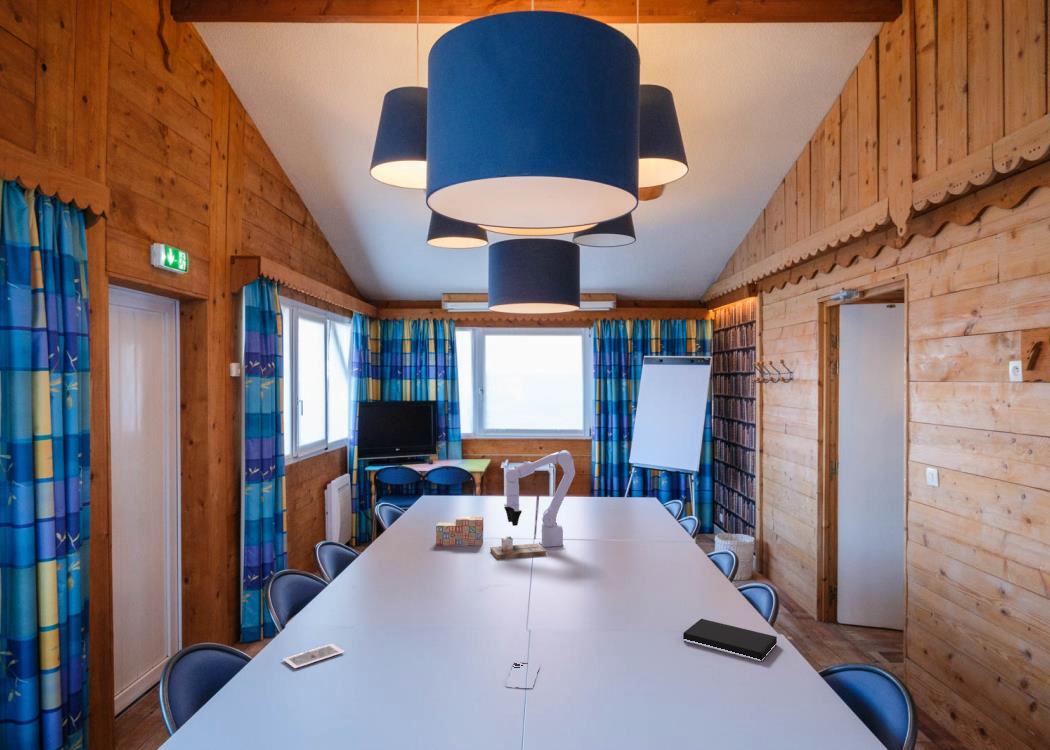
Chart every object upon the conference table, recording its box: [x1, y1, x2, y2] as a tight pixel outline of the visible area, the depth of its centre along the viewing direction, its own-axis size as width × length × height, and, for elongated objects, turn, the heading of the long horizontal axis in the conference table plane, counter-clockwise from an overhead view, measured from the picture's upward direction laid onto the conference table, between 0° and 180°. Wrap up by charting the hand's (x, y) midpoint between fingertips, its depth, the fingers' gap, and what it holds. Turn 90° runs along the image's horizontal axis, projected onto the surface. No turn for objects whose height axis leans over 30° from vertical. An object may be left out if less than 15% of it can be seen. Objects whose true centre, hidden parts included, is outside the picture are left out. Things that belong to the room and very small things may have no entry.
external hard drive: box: [682, 618, 778, 660], centre depth 196 cm, size 14×23×3 cm, turn 53°
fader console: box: [489, 543, 547, 560], centre depth 290 cm, size 22×12×3 cm, turn 106°
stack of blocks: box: [435, 516, 484, 547], centre depth 305 cm, size 21×6×12 cm, turn 87°
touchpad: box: [282, 643, 346, 669], centre depth 185 cm, size 8×15×2 cm, turn 134°
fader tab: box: [501, 536, 514, 551], centre depth 288 cm, size 4×4×5 cm
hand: (512, 523), depth 305 cm, fingers open, 7 cm apart
